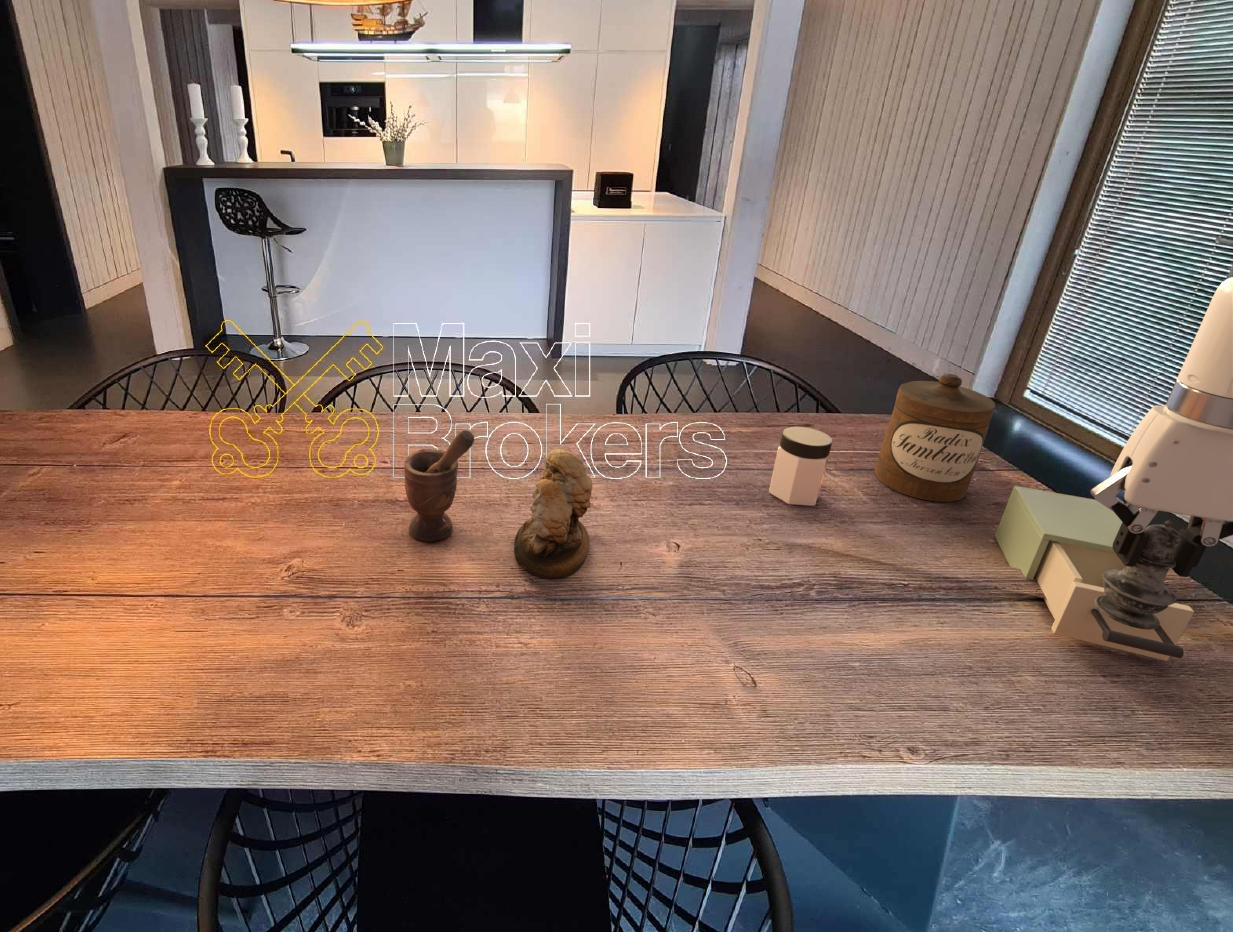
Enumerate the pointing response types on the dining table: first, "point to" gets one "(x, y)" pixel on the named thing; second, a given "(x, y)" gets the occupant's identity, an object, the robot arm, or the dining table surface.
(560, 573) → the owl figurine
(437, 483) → the mortar and pestle
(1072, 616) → the drawer
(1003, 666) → the dining table surface
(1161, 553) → the chess piece
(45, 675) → the dining table surface
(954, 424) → the wooden container
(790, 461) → the jar
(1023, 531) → the cabinet
